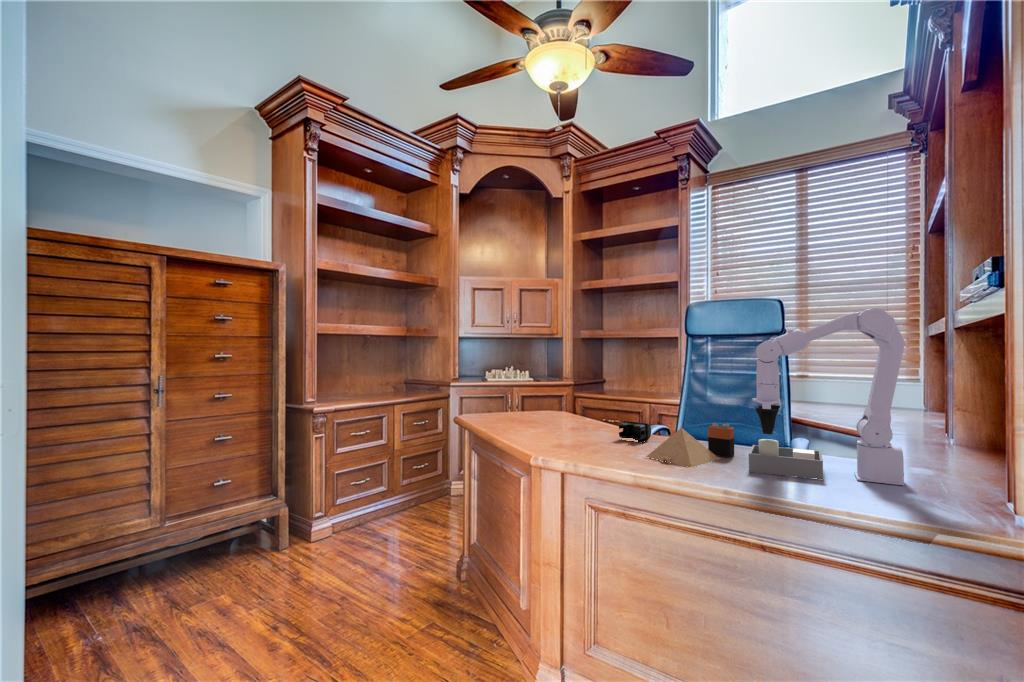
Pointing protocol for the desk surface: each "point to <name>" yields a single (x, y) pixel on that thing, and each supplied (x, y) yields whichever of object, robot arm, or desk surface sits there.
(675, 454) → the model pyramid
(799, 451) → the cube
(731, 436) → the battery
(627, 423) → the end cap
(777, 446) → the cylinder
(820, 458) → the tote
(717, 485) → the desk surface
